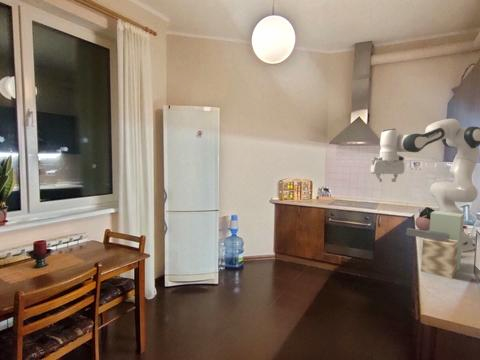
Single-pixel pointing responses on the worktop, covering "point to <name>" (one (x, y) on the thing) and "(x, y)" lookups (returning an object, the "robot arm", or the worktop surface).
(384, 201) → the worktop surface
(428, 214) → the squash
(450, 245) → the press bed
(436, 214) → the column
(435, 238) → the lever bar
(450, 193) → the robot arm
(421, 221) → the pink toy umbrella
